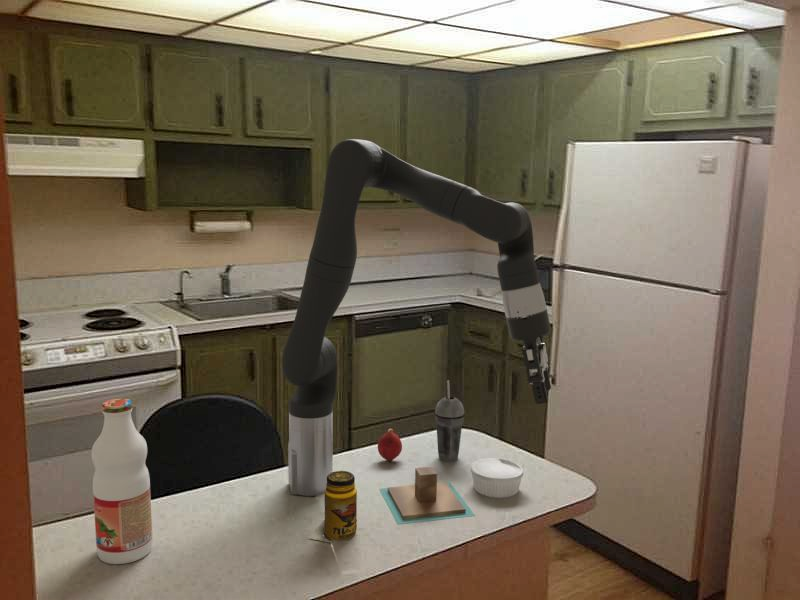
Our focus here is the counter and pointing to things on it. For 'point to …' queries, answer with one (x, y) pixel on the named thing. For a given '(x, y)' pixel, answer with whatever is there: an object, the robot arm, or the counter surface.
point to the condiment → (338, 508)
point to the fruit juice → (121, 488)
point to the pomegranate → (389, 446)
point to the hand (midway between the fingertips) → (543, 396)
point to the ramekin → (496, 477)
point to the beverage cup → (449, 426)
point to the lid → (425, 497)
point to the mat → (401, 521)
